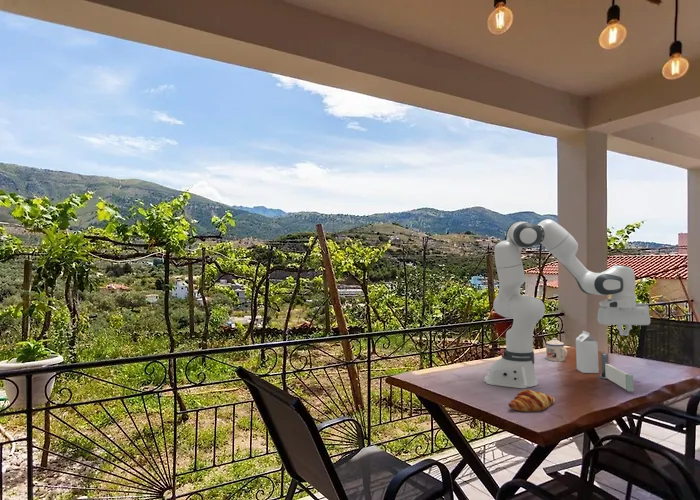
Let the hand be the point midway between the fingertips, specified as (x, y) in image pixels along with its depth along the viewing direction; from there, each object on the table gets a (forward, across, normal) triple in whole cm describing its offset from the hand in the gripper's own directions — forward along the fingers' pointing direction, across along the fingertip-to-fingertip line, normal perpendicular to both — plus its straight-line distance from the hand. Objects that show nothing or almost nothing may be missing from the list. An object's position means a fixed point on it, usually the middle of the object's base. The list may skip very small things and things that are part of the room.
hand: (624, 335), depth 180 cm
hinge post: (+21, +2, -12) cm, 24 cm away
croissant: (+23, +48, +27) cm, 60 cm away
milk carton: (+22, +4, -23) cm, 32 cm away
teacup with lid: (+22, +9, -46) cm, 52 cm away
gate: (+21, +3, +1) cm, 21 cm away
